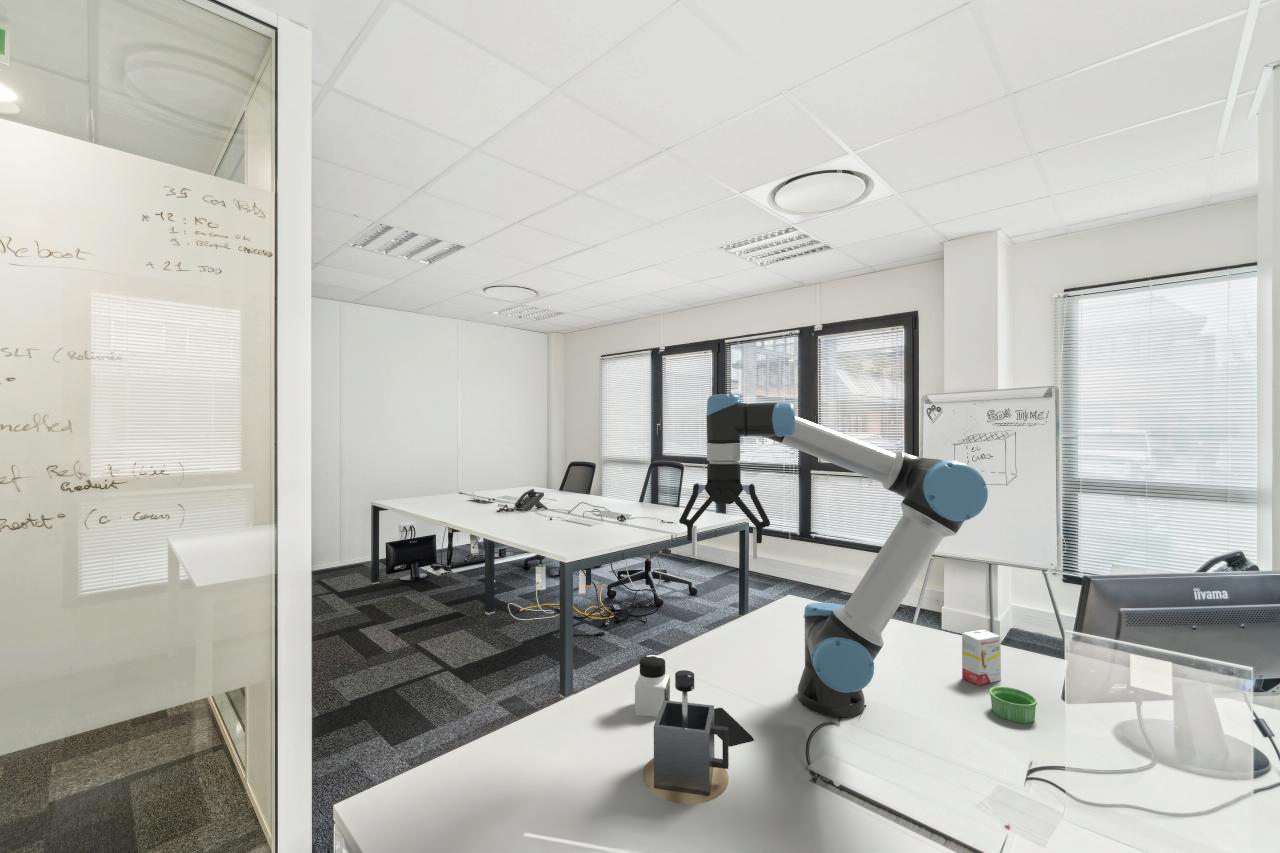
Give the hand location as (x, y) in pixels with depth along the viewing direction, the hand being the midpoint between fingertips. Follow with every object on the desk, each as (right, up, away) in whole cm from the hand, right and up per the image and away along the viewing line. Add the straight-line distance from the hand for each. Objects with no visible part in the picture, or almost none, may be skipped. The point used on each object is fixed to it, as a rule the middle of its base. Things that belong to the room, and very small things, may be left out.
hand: (724, 556), depth 121 cm
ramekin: (+66, -37, +1) cm, 76 cm away
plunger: (-11, -34, -21) cm, 41 cm away
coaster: (-11, -36, -21) cm, 43 cm away
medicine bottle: (-16, -37, +4) cm, 41 cm away
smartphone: (-1, -37, -4) cm, 37 cm away
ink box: (+70, -37, +19) cm, 82 cm away
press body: (-9, -36, -21) cm, 43 cm away
